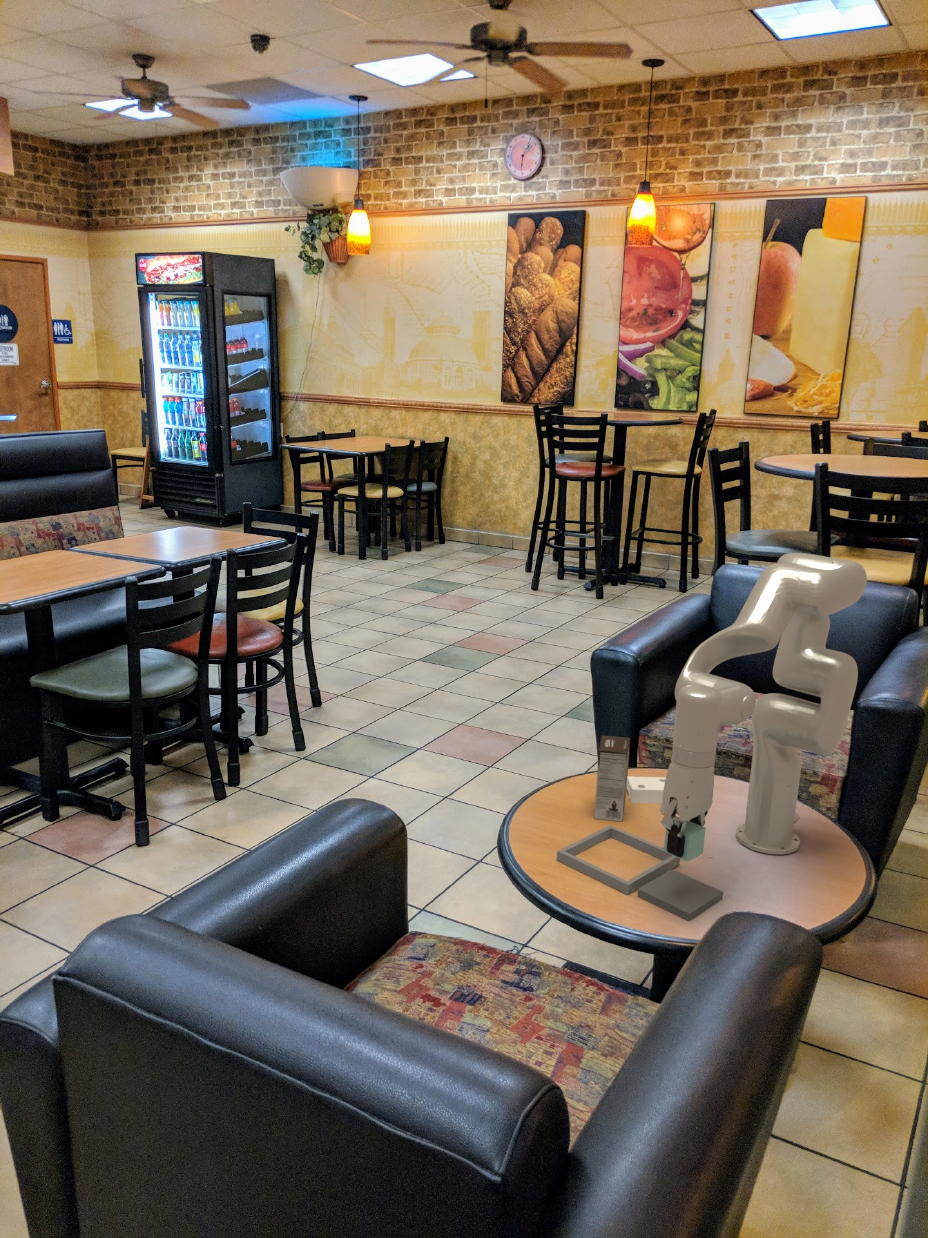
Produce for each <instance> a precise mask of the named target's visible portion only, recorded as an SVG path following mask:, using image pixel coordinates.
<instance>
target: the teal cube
mask: <svg viewBox="0 0 928 1238" xmlns="http://www.w3.org/2000/svg"><path fill="white" fill-rule="evenodd" d="M674 824H675V825H677V827H678V828H679V825H680V822H677V821H675V823H674ZM706 830H707V827H706V826H700V825H698V824H695V823H693V822H690V821H689V820H688V821H687V822H686V826H685V830H684V834H683V836H685V844H684V854H683V857H681V858H680V857H678V858H680V860H682V861H685V862H689V861H692V860H693V859H695V858H697V857H698V856H700V855H702V854H704V847H705V837H706ZM664 836H665V837H664V847H663V848H664V852H666V853H668V852H667V840H668V832H667V829H666V828H665V835H664ZM669 854H671V853H669ZM671 855H673V854H671ZM673 856H675V855H673ZM676 857H677V856H676Z"/></svg>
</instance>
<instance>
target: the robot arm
mask: <svg viewBox="0 0 928 1238" xmlns="http://www.w3.org/2000/svg"><path fill="white" fill-rule="evenodd" d="M867 579H868V576H867V572H866V570H865V567H864V566H862V564H860V563H859V562H857V561H853V560H849V559H843V558H837V557H829V556H825V555H818V554H812V553H805V552H804V553H803V552H789V553H785V554H783V555H782V556H780V557H779V558H778V560H777V562H776V563H773V564H770V565H768V566H767V567H765V568H764V569H763V571H762V572H761V573H760V575H759V576H758V578H757V581H756V582H755V585H754V586H753V588H752V590H751V591H750V594H749V595H748V597H747V599H746V601H745V603H744V604H743V607H742V608H741V610H740V611H739V614H738V615H737V618H736V619H735V621H734V623H732V625H729V626H728V627H726V628H724V629H722V630H720V631H718V632H716V633H715V634H713V635H712V636H710V637H709V638H707V639H706V640H704V641H703V642H701V643H700V644H699V645H698V646H697V647H696V648H695V649H694V650H693V651H692V653H690V655H689V658H688V659H687V661H686V663H685V665H684V666H683V668H682V670H681V672H680V674H679V677H678V679H677V681H676V684H675V688H674V697H675V701H676V705H675V716H674V726H673V735H672V736H673V737H672V748H671V757H670V763H669V765H668V768H667V772H666V776H665V778H666V780H665V785H664V790H663V796H662V804H661V805H660V814H661V815H662V816H663V817H662V820H661V825H662V826H664V828H665V830H666V829H667V832H668V840H667V852H668V853H671V854H673V855H675V856H677V857H680V858H681V857H683V854H684V844H685V836H683V834H684V830H685V826H686V822H687V821H690V822H693V823H695V824H698V825H700V826H703V827H705V824H706V817H707V815H708V812H709V810H710V809H711V806H712V804H713V798H714V797H713V796H714V788H715V787H714V786H715V765H716V754H717V747H718V739H719V729H720V726H729V725H730V726H731V725H738V724H741V723H743V722H745V721H747V719H749V718H751V724H752V725H751V726H752V737H753V739H752V742H753V743H752V744H753V747H752V758H751V765H750V775H749V785H748V793H747V801H746V802H747V803H746V812H745V819H744V823H742V824H740V825H739V826H738V827H737V828H736V832H735V837H736V840H737V841H738V842H739V843H740V844H741V845H742V846H744V847H746V848H748V849H750V850H752V851H754V852H758V853H762V854H767V855H775V856H776V855H779V856H780V855H781V856H782V855H788V854H792V853H794V852H796V851H797V850H799V848H800V844H801V841H800V838H799V836H798V835H797V834H796V833H795V832H794V826H795V824H797V823H798V822H799V821H800V819H801V816H800V815H799V813H797V812H796V811H797V803H798V802H797V801H798V797H799V796H798V795H799V787H800V780H801V772H802V764H801V762H802V761H801V757H800V754H799V752H798V749H799V750H803V751H806V752H810V753H813V754H816V755H821V756H828V755H831V754H833V753H834V752H836V750H837V749H838V748H839V746H840V744H841V741H842V739H843V736H844V733H845V729H846V726H847V722H848V718H849V715H850V711H851V707H852V703H853V700H854V696H855V693H856V688H857V684H858V680H859V679H858V676H859V675H858V674H859V672H858V671H859V670H858V664H857V662H856V660H855V658H853V656H851V655H849V654H847V653H845V652H842V651H838V650H835V649H831V648H830V649H829V648H827V647H826V644H827V640H828V637H829V631H830V629H831V619H830V615H832V614H836V613H837V612H840V611H842V610H844V609H847V608H848V607H851V606H853V605H854V604H856V603H857V602H858V601H859V600H860V599H861V598H862V596H863V595H864V593H865V590H866V587H867V583H868V582H867V581H868V580H867ZM777 645H778V647H777V650H776V655H775V658H774V662H773V666H772V667H773V668H772V679H774V681H775V683H776V684H778V685H779V686H781V687H784V688H786V689H790V690H793V691H796V692H801V693H804V694H807V695H811V696H815V697H819V698H820V703H816V702H814V701H813V702H812V701H810V700H809V701H808V700H806V699H803V698H800V697H795V696H792V695H789V694H788V695H787V694H783V693H774V692H773V693H772V692H771V693H770V692H769V693H765V694H763V695H761V696H760V697H758V699H757V698H756V694H755V692H754V690H753V689H752V688H751V687H750V686H748V685H747V684H745V683H742V682H739V681H736V680H732V679H729V678H724V677H722V676H718V675H715V674H710V673H711V671H713V669H714V668H716V667H717V666H719V664H722V663H723V662H725V661H728V660H730V659H733V658H739V657H742V656H748V655H753V654H758V653H764V652H767V651H771V650H773V649H774V648H775V647H776V646H777ZM675 821H677V822H680V825H679V828H678V827H677V825H675V824H674V823H675Z"/></svg>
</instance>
